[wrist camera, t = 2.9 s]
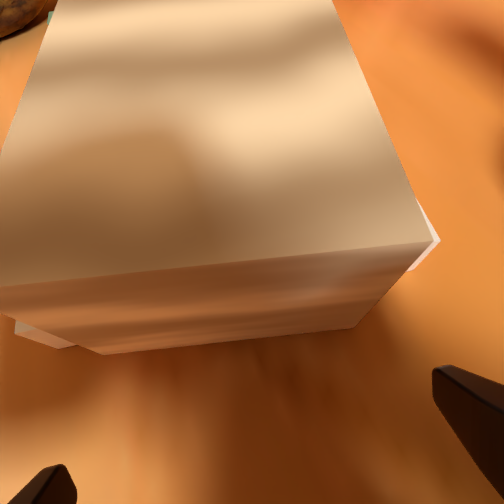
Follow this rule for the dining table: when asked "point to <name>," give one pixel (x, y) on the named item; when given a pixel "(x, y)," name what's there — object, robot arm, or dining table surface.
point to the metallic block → (199, 178)
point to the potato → (18, 14)
